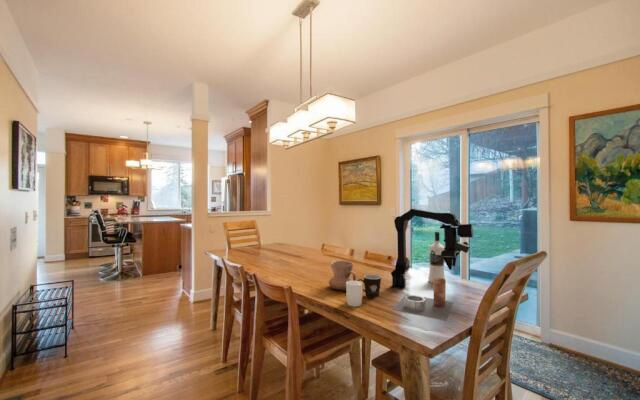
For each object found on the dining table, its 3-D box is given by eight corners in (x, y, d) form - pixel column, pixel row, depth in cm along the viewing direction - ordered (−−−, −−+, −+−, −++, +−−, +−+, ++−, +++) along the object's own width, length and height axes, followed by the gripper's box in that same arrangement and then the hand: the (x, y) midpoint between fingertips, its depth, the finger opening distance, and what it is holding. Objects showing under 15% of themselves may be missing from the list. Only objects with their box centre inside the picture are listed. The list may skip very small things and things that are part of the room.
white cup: (344, 301, 141) (344, 280, 141) (360, 300, 142) (360, 280, 142) (347, 307, 133) (347, 285, 133) (364, 306, 134) (364, 285, 134)
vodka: (448, 283, 171) (449, 232, 171) (436, 285, 168) (436, 233, 167) (436, 279, 180) (437, 230, 179) (424, 281, 176) (425, 231, 176)
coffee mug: (382, 295, 150) (382, 275, 150) (378, 300, 142) (378, 280, 142) (360, 292, 155) (360, 273, 155) (355, 297, 147) (355, 277, 147)
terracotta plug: (432, 306, 133) (432, 279, 132) (434, 302, 137) (434, 277, 137) (444, 308, 130) (444, 281, 130) (446, 304, 134) (446, 278, 134)
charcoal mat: (391, 311, 128) (391, 309, 128) (406, 296, 149) (406, 294, 149) (446, 323, 117) (446, 320, 117) (453, 304, 138) (453, 302, 138)
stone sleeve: (402, 308, 130) (402, 299, 130) (407, 302, 137) (407, 294, 137) (422, 312, 125) (422, 303, 125) (426, 306, 133) (426, 297, 133)
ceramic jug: (321, 287, 163) (322, 261, 163) (340, 282, 173) (340, 258, 172) (345, 296, 150) (345, 268, 149) (363, 290, 159) (364, 264, 159)
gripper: (465, 239, 137) (467, 273, 137) (470, 235, 153) (472, 265, 152) (440, 239, 144) (441, 271, 143) (447, 235, 159) (449, 264, 159)
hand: (452, 267), depth 149 cm, fingers open, 9 cm apart
